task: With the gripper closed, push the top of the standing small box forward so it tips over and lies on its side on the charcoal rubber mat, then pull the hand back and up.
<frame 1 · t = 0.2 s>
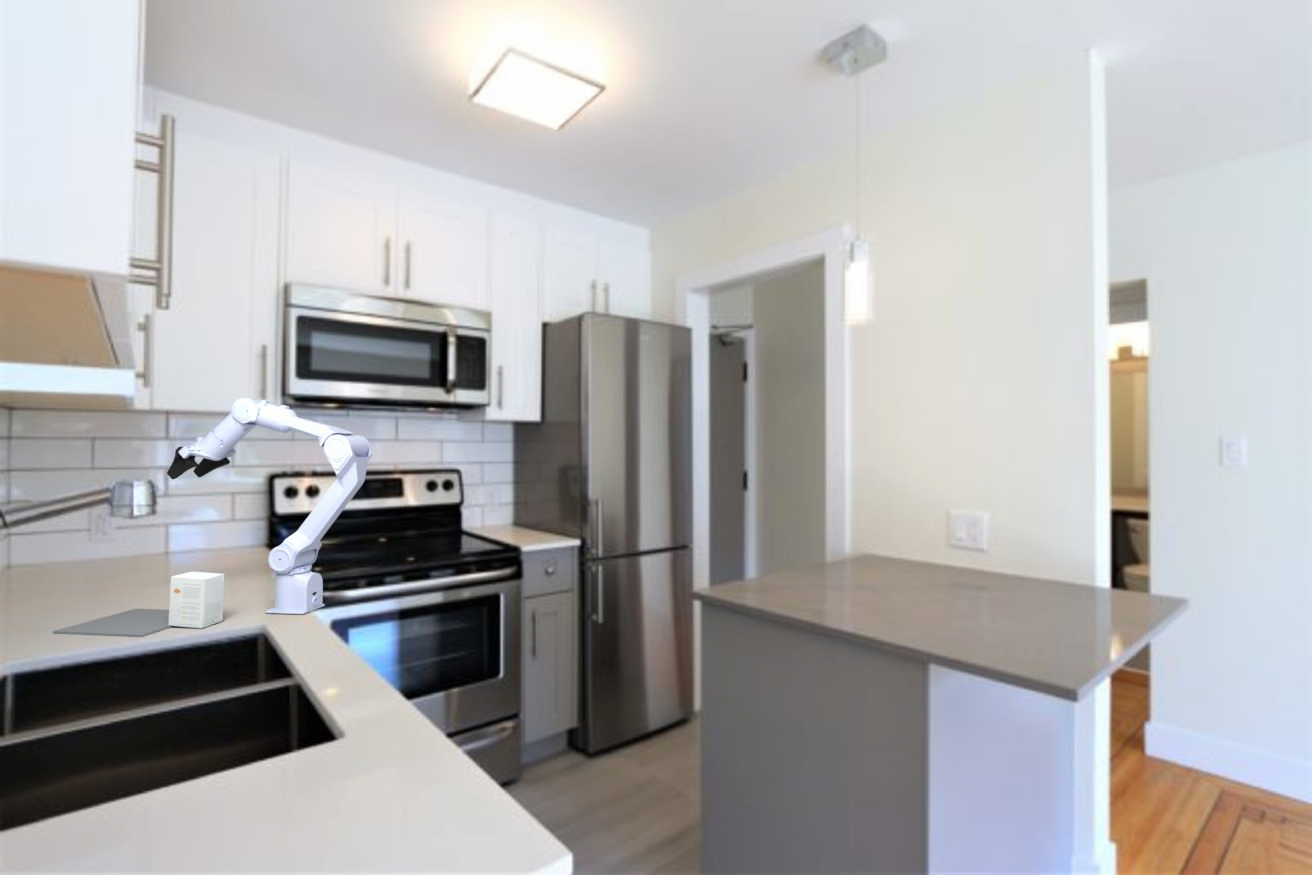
hand: (183, 475, 148), 31 cm above the table, tool tilted 50°, fingers open, 7 cm apart
small box: (195, 624, 133), on the table, touching mat
mat: (138, 622, 135), on the table
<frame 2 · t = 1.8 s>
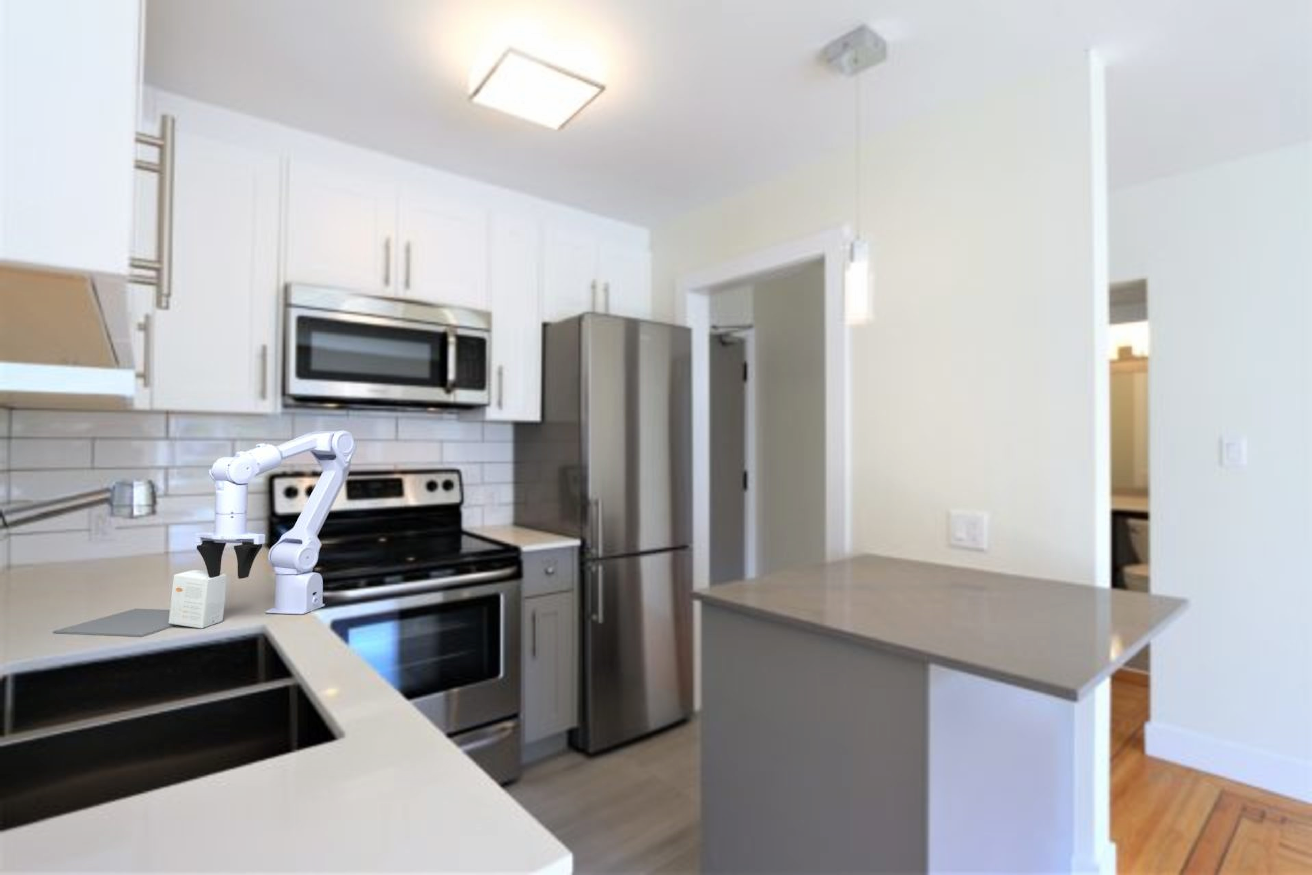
hand: (228, 577, 132), 10 cm above the table, tool pointing down, fingers open, 6 cm apart
small box: (195, 623, 133), on the table, touching gripper
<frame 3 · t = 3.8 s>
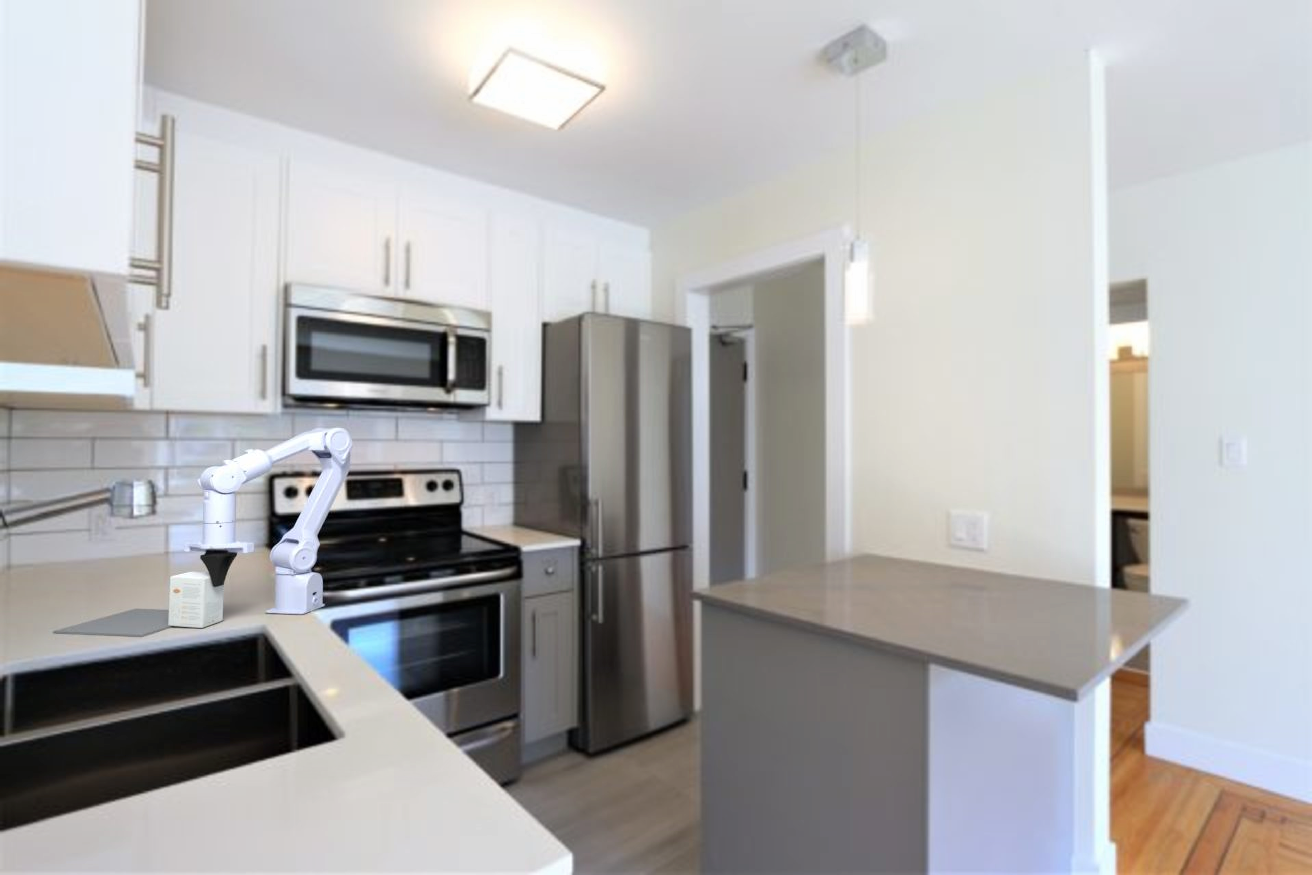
hand: (218, 585, 133), 8 cm above the table, tool pointing down, fingers closed, pressing on small box
small box: (195, 624, 133), on the table, touching gripper, mat
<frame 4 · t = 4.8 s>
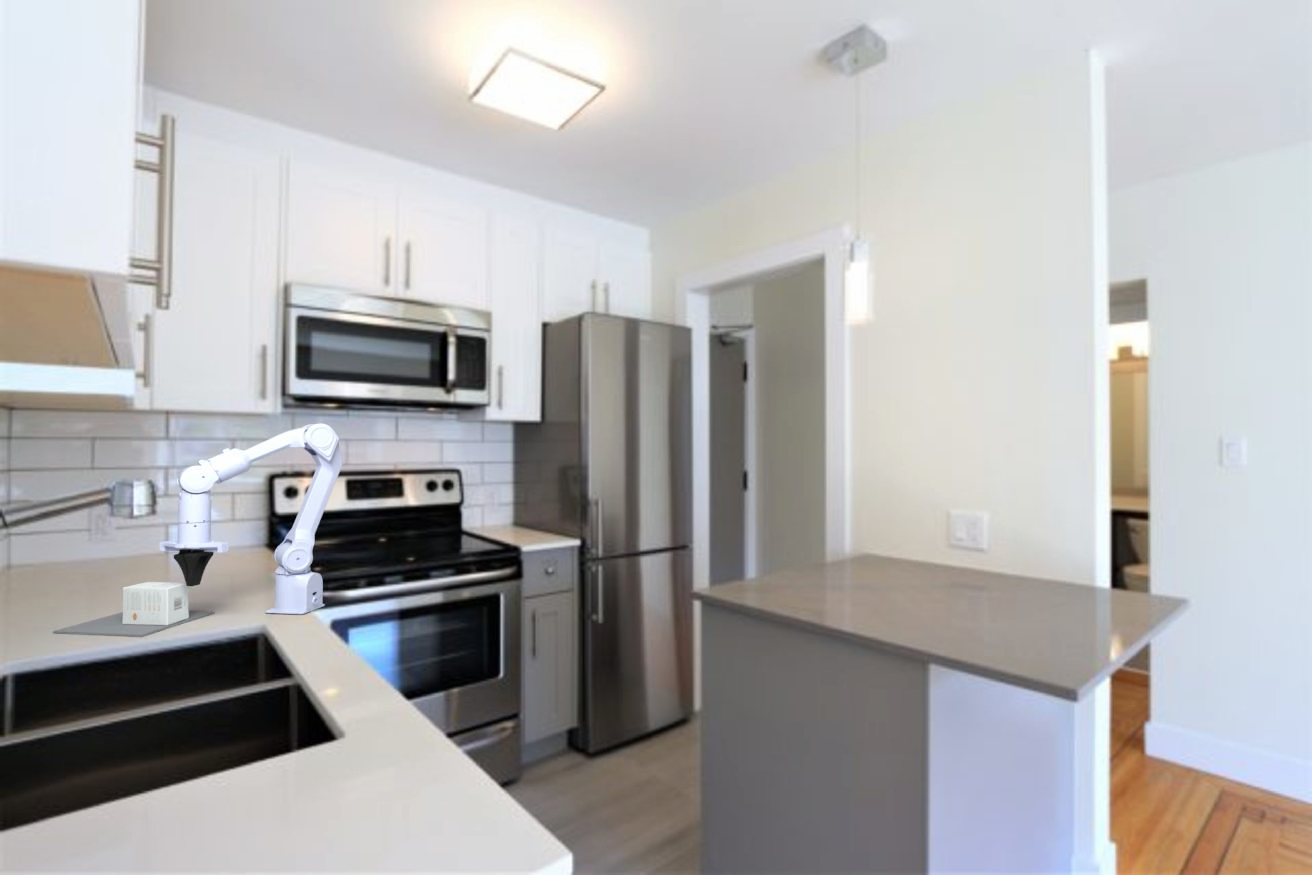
hand: (193, 585, 133), 8 cm above the table, tool pointing down, fingers closed
small box: (179, 603, 134), point 4 cm above the table, touching mat
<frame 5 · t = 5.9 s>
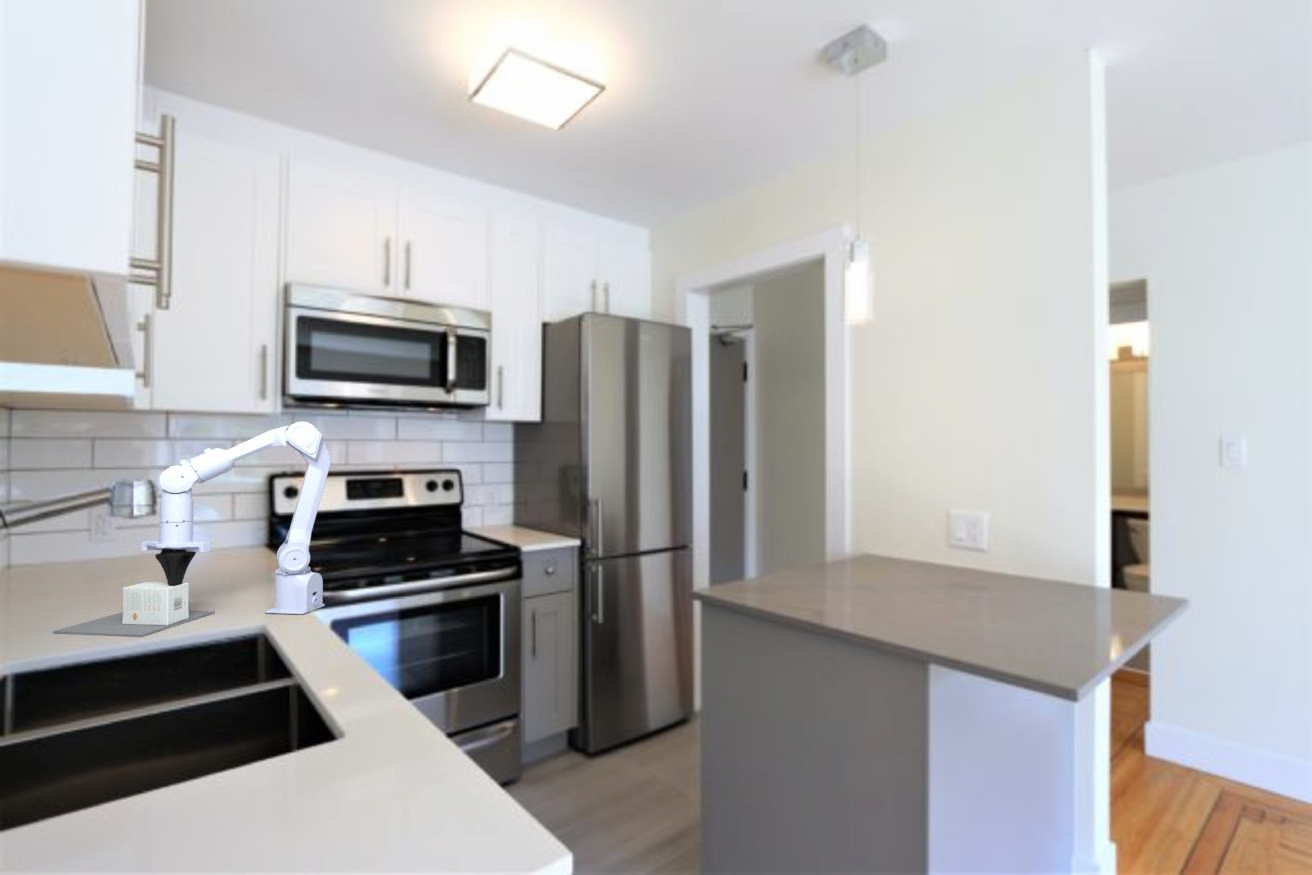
hand: (175, 584, 134), 8 cm above the table, tool pointing down, fingers closed
nothing on the table moved.
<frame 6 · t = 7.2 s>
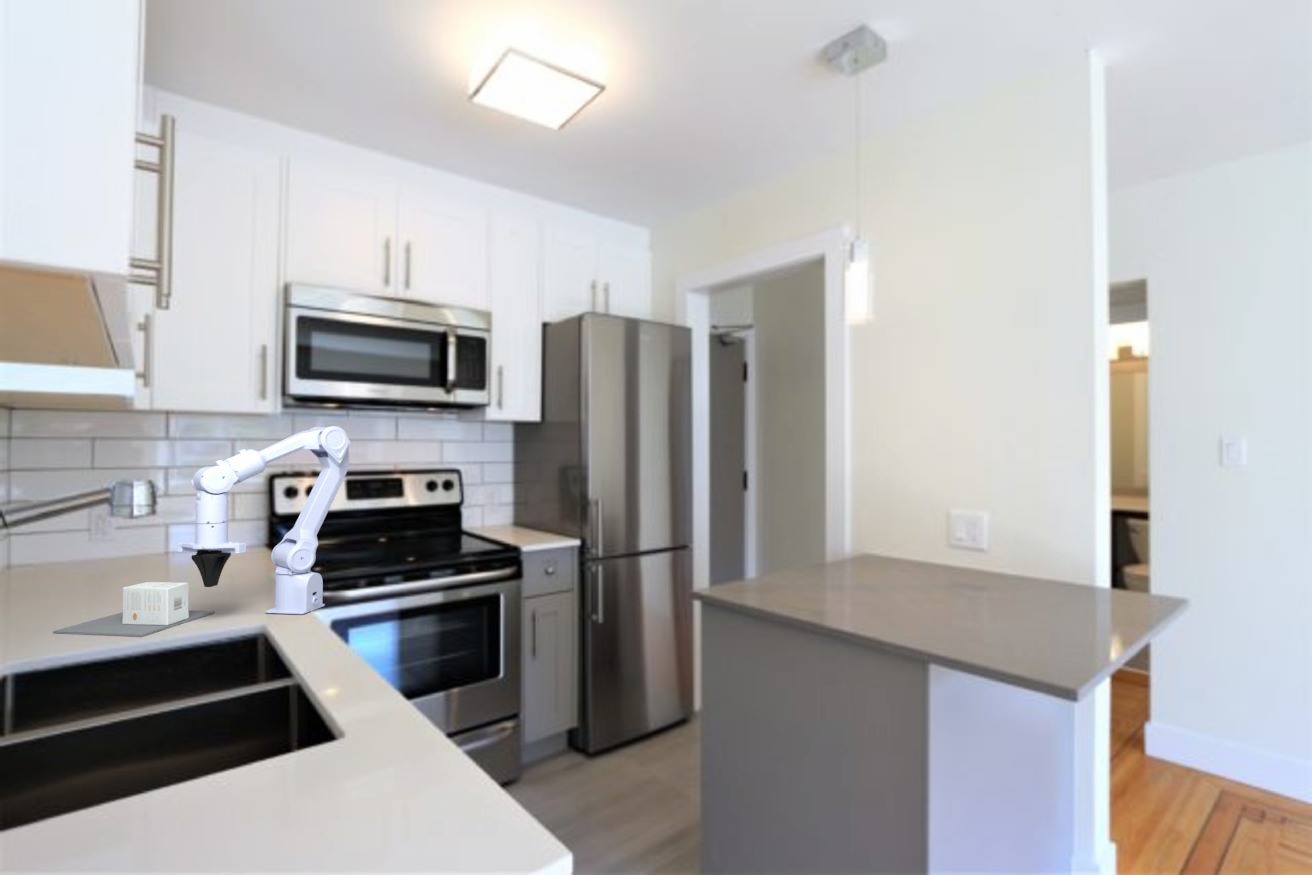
hand: (211, 586, 133), 8 cm above the table, tool pointing down, fingers closed
nothing on the table moved.
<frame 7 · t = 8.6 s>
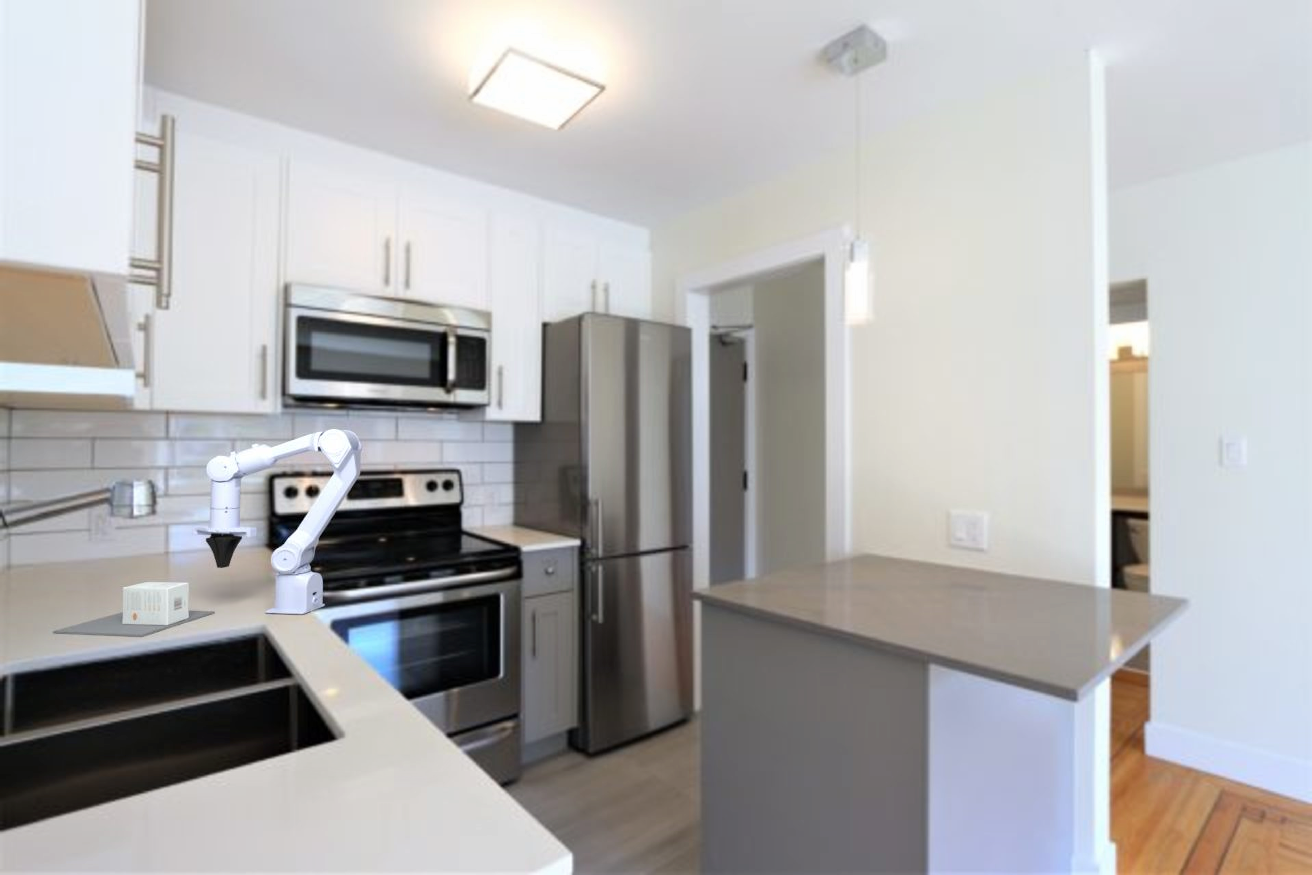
hand: (223, 567, 143), 10 cm above the table, tool pointing down, fingers closed
nothing on the table moved.
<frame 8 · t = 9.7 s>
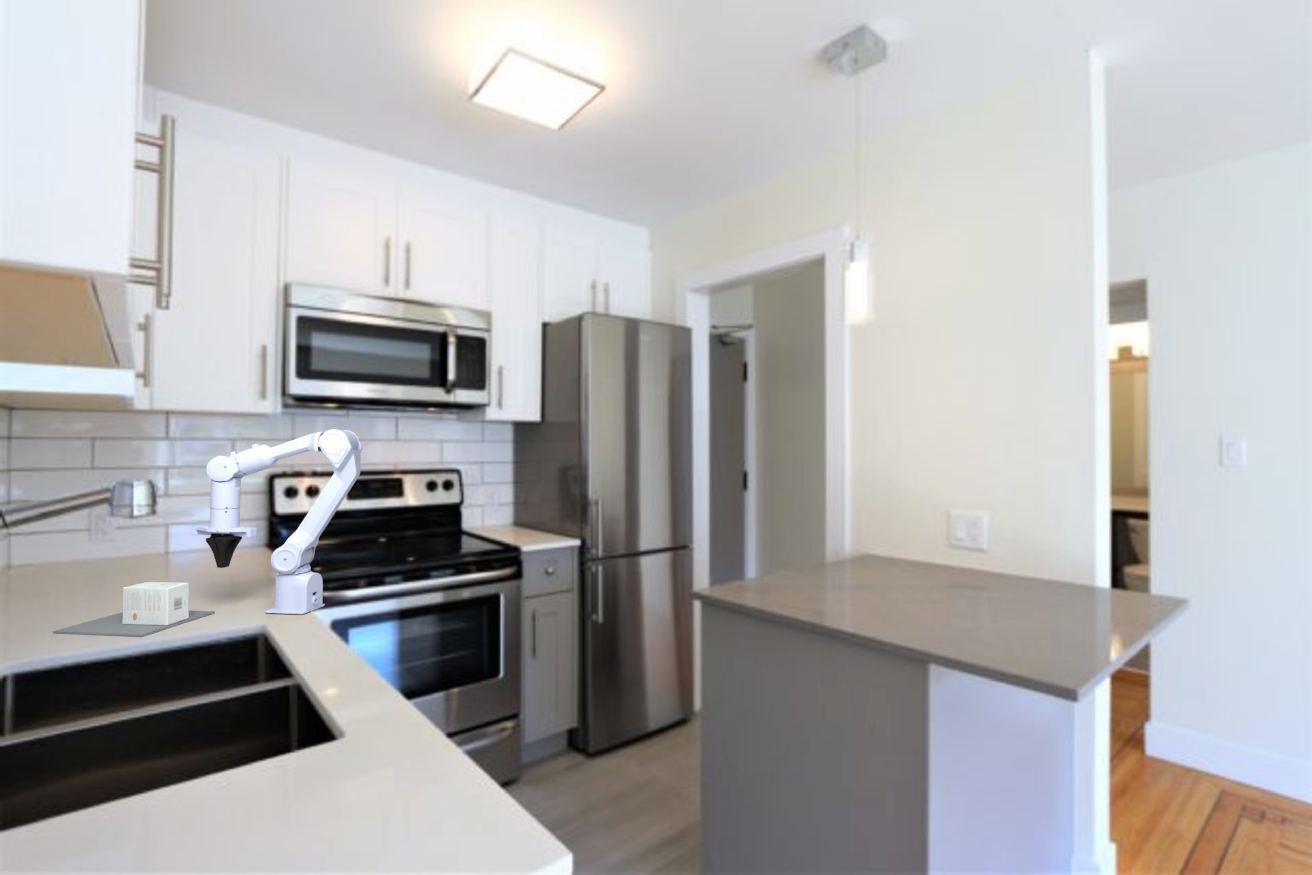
hand: (223, 567, 143), 10 cm above the table, tool pointing down, fingers closed
nothing on the table moved.
at the end: small box tilted 90°; small box touching mat; small box inside the target area (5.8 cm from its centre), point 4.3 cm above the table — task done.
